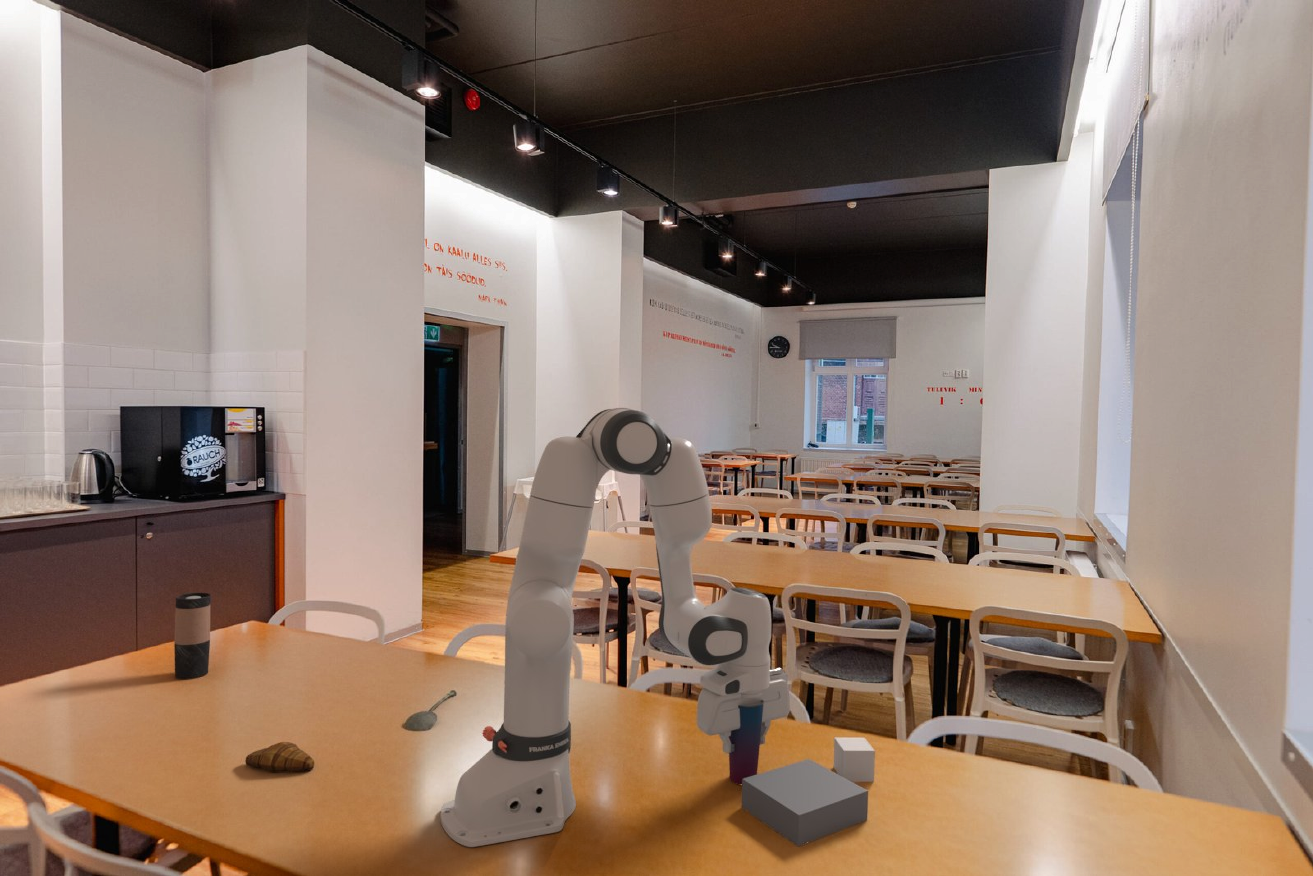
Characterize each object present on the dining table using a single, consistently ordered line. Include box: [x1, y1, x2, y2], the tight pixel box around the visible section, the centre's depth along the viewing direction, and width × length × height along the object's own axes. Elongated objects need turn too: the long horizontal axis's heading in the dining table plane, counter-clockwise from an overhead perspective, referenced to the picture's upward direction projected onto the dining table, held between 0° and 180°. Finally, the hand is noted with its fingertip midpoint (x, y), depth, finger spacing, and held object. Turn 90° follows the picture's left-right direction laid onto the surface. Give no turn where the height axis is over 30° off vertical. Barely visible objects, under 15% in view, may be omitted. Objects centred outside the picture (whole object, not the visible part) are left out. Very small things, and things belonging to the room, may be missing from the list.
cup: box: [728, 700, 764, 785], centre depth 139 cm, size 7×7×15 cm
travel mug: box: [173, 592, 211, 680], centre depth 187 cm, size 8×8×20 cm
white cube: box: [833, 736, 876, 783], centre depth 142 cm, size 6×6×6 cm
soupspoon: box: [404, 689, 458, 732], centre depth 167 cm, size 22×3×7 cm
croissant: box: [244, 741, 315, 773], centre depth 139 cm, size 14×7×5 cm, turn 82°
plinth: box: [740, 758, 869, 847], centre depth 127 cm, size 16×14×5 cm
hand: (743, 748), depth 139 cm, fingers closed on cup, 6 cm apart
